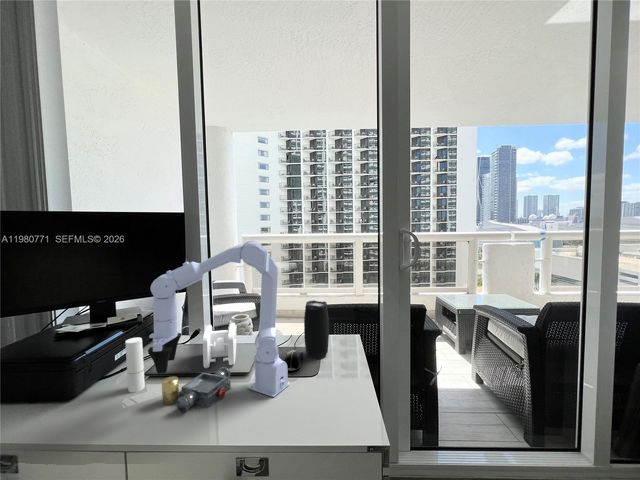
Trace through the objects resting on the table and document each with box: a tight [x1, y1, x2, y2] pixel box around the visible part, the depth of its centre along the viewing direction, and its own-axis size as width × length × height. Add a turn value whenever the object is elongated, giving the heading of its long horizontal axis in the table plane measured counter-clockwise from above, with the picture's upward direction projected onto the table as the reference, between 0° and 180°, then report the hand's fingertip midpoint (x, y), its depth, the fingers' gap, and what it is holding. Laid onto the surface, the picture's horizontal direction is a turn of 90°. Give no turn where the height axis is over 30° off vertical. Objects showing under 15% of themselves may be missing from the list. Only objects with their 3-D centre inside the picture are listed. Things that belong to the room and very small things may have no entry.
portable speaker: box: [303, 300, 330, 360], centre depth 117 cm, size 9×9×20 cm
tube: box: [125, 337, 146, 393], centre depth 96 cm, size 4×4×15 cm
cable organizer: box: [202, 322, 238, 369], centre depth 114 cm, size 15×11×12 cm
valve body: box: [175, 366, 232, 414], centre depth 92 cm, size 18×11×4 cm, turn 160°
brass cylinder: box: [161, 376, 180, 406], centre depth 89 cm, size 4×4×6 cm
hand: (166, 366), depth 89 cm, fingers open, 7 cm apart
